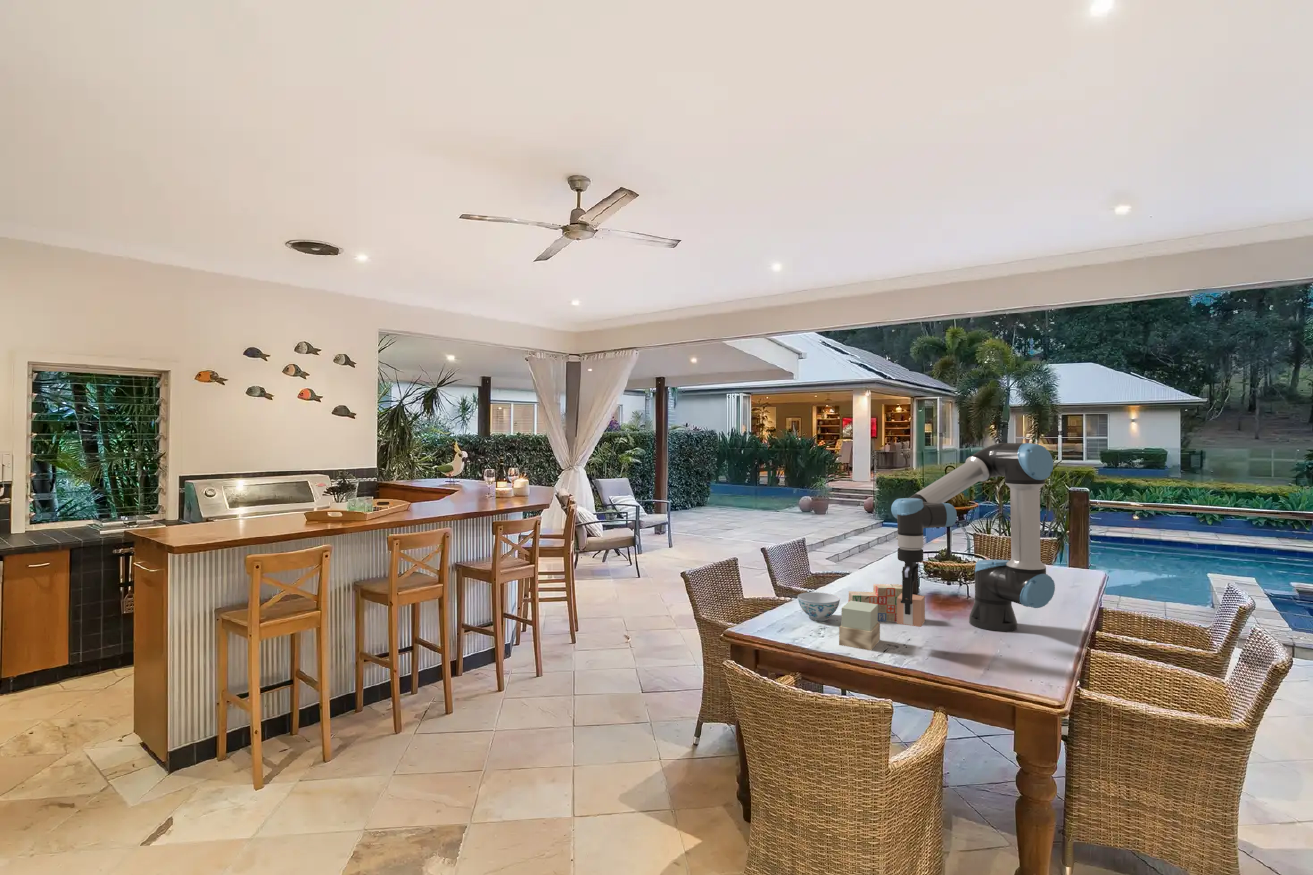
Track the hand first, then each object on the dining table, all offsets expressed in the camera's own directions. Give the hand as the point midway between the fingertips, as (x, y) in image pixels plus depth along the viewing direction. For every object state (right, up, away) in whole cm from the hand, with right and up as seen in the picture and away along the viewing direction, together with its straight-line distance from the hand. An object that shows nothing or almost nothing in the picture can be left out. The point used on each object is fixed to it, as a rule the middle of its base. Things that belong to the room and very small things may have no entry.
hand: (910, 620), depth 206 cm
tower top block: (-14, -3, +7) cm, 16 cm away
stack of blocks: (+2, -9, +34) cm, 35 cm away
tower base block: (-14, -9, +7) cm, 18 cm away
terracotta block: (0, 0, 0) cm, 0 cm away
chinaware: (-20, -9, +34) cm, 41 cm away
